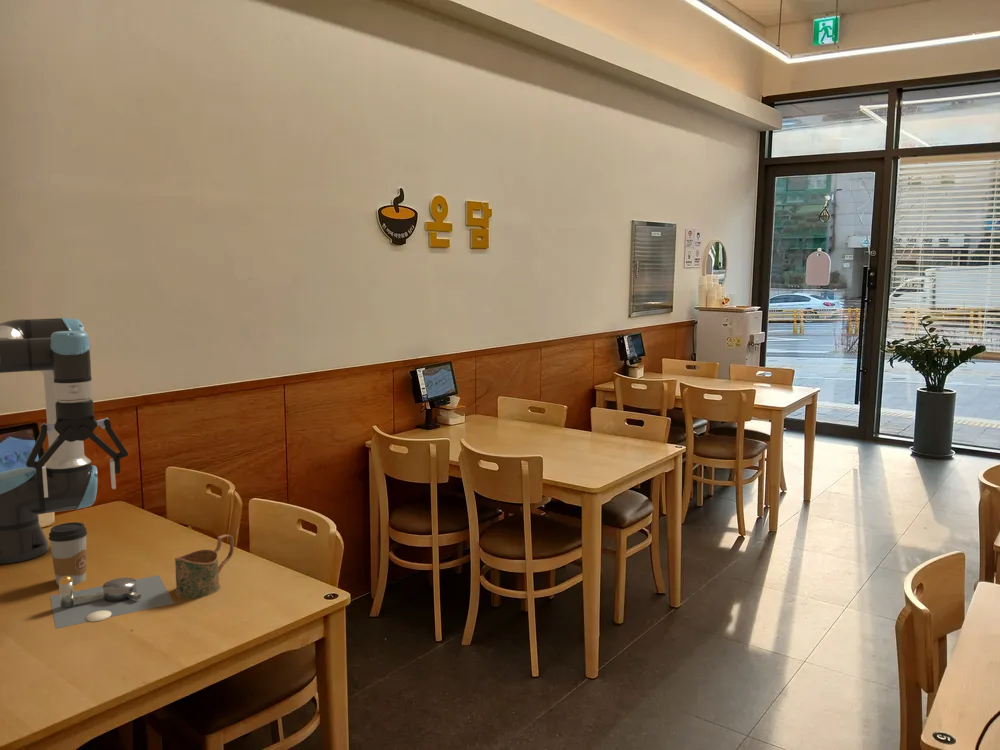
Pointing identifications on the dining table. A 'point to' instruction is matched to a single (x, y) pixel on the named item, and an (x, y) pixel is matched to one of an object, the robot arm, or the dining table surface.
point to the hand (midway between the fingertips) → (80, 491)
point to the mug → (200, 571)
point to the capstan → (111, 592)
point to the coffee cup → (69, 551)
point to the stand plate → (110, 603)
